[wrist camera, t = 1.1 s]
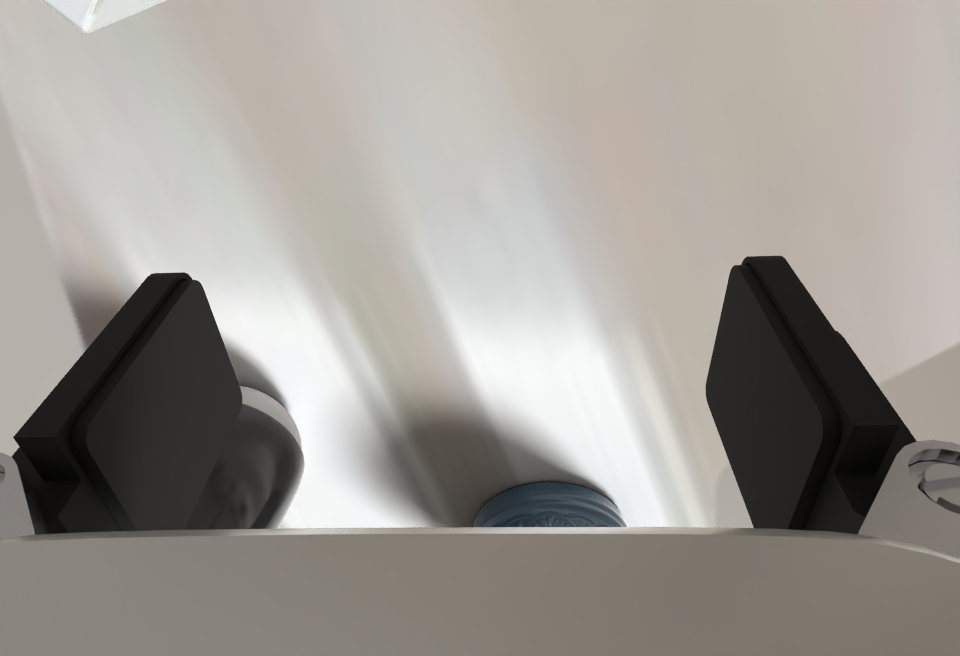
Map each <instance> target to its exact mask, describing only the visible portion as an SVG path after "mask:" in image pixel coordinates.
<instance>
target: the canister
mask: <svg viewBox="0 0 960 656" xmlns="http://www.w3.org/2000/svg"><path fill="white" fill-rule="evenodd" d="M473 527H627V526H626V524H625V522H624V521H623V518H622V515H621V513H620V511H619V510H618V508H617V507H616V506H615V505H614V504H613V503H612V502H611V501H610V500H609V499H607V498H606V497H604V496H603V495H601V494H599V493H597V492H595V491H593V490H591V489H588V488H585V487H582V486H578V485H573V484H567V483H556V482H545V483H534V484H528V485H523V486H519V487H516V488H513V489H510V490H508V491H505V492H503V493H501V494H499V495H497V496H496V497H494V498H493V499H491V500H490V501H489V502H487V503H486V504H485V505H484V506H483V507H482V508H481V510H480V511H479V512H478V514H477V516H476V518H475V521H474V525H473Z"/></svg>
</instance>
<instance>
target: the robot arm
mask: <svg viewBox="0 0 960 656" xmlns="http://www.w3.org/2000/svg"><path fill="white" fill-rule="evenodd" d="M706 398H707V402H708V405H709V408H710V411H711V413H712V416H713V419H714V422H715V424H716V427H717V430H718V432H719V435H720V438H721V440H722V443H723V446H724V448H725V451H726V454H727V457H728V459H729V462H730V465H731V467H732V470H733V473H734V475H735V478H736V481H737V483H738V486H739V489H740V492H741V494H742V497H743V500H744V502H745V505H746V508H747V510H748V513H749V516H750V518H751V521H752V524H753V526H754V528H695V527H452V528H306V529H219V530H184V529H185V527H186V525H187V523H188V521H189V519H190V517H191V514H192V512H193V510H194V508H195V506H196V504H197V502H198V500H199V497H200V495H201V493H202V491H203V489H204V487H205V485H206V483H207V481H208V478H209V476H210V474H211V472H212V470H213V468H214V466H215V464H216V461H217V459H218V457H219V455H220V453H221V451H222V449H223V447H224V444H225V442H226V440H227V438H228V436H229V434H230V432H231V430H232V427H233V425H234V423H235V421H236V419H237V417H238V415H239V413H240V410H241V407H242V393H241V389H240V386H239V384H238V381H237V378H236V375H235V373H234V370H233V367H232V365H231V362H230V359H229V357H228V354H227V351H226V348H225V346H224V343H223V340H222V338H221V335H220V332H219V330H218V327H217V324H216V321H215V319H214V316H213V313H212V311H211V308H210V305H209V303H208V300H207V297H206V294H205V292H204V289H203V287H202V285H201V283H200V282H199V281H197V280H192V278H191V277H190V276H189V275H188V274H186V273H155V274H151V275H150V276H148V277H147V278H146V280H145V281H144V282H143V283H142V284H141V286H140V287H139V288H138V289H137V290H136V292H135V293H134V294H133V295H132V296H131V297H130V299H129V300H128V301H127V302H126V303H125V305H124V306H123V307H122V308H121V309H120V311H119V312H118V313H117V314H116V315H115V317H114V318H113V319H112V320H111V321H110V323H109V324H108V325H107V326H106V327H105V329H104V330H103V331H102V332H101V333H100V334H99V336H98V337H97V338H96V339H95V340H94V342H93V343H92V344H91V345H90V346H89V348H88V349H87V350H86V351H85V352H84V354H83V355H82V356H81V357H80V358H79V360H78V361H77V362H76V363H75V364H74V366H73V367H72V368H71V369H70V370H69V372H68V373H67V374H66V375H65V377H63V379H62V380H61V381H60V382H59V383H58V385H57V386H56V387H55V388H54V389H53V391H52V392H51V393H50V394H49V395H48V397H47V398H46V399H45V400H44V401H43V403H42V404H41V405H40V406H39V407H38V408H37V410H36V411H35V412H34V413H33V414H32V416H31V417H30V418H29V419H28V420H27V422H26V423H25V424H24V425H23V427H22V428H21V429H20V430H19V431H18V433H17V434H16V435H15V436H14V437H13V438H14V439H15V441H16V442H17V443H18V445H19V446H20V447H19V448H18V450H17V451H16V452H15V453H14V455H13V456H12V457H10V456H8V455H6V454H3V453H0V656H960V445H958V444H955V443H950V442H944V441H937V440H929V441H928V440H927V441H916V440H915V439H914V437H913V436H912V434H911V433H910V431H909V430H908V428H907V427H906V425H905V424H904V423H903V421H902V420H901V418H900V417H899V416H898V414H897V413H896V411H895V410H894V408H893V407H892V406H891V404H890V403H889V401H888V400H887V398H886V397H885V396H884V394H883V393H882V391H881V390H880V388H879V387H878V386H877V384H876V383H875V381H874V380H873V379H872V377H871V376H870V374H869V373H868V371H867V370H866V369H865V367H864V366H863V364H862V363H861V361H860V360H859V359H858V357H857V356H856V354H855V353H854V351H853V350H852V349H851V347H850V346H849V344H848V343H847V341H846V340H845V339H844V337H843V336H842V335H841V334H840V333H839V332H837V331H835V330H834V329H833V327H832V326H831V324H830V323H829V321H828V320H827V319H826V317H825V316H824V314H823V313H822V311H821V310H820V308H819V307H818V306H817V304H816V303H815V301H814V300H813V298H812V297H811V295H810V294H809V293H808V291H807V290H806V288H805V287H804V285H803V284H802V283H801V281H800V280H799V278H798V277H797V275H796V274H795V272H794V271H793V270H792V268H791V267H790V265H789V264H788V262H787V261H786V259H785V258H784V257H782V256H755V257H746V258H745V259H744V260H743V262H742V264H741V265H735V266H733V267H732V269H731V272H730V275H729V280H728V285H727V289H726V294H725V298H724V303H723V308H722V312H721V317H720V322H719V326H718V331H717V335H716V340H715V345H714V349H713V354H712V359H711V363H710V368H709V372H708V377H707V382H706Z"/></svg>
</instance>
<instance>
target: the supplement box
mask: <svg viewBox="0 0 960 656" xmlns="http://www.w3.org/2000/svg"><path fill="white" fill-rule="evenodd" d="M40 1H42V2H43V3H44V4H46V5H47V6H48V7H50V8H51V9H52V10H54V11H55V12H56V13H58V14H59V15H60V16H62V17H63V18H64V19H66V20H67V21H68V22H69V23H71V24H72V25H73V26H74V27H75V28H77V29H78V30H80V31H81V32H83V33H90V32H93V31H96V30H98V29H100V28H102V27H104V26H107V25H109V24H111V23H114V22H116V21H119V20H121V19H123V18H126V17H128V16H131V15H133V14H135V13H138V12H140V11H142V10H145V9H147V8H149V7H152V6H154V5H157V4H159V3H162V2H164V1H166V0H40Z"/></svg>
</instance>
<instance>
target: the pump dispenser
mask: <svg viewBox="0 0 960 656" xmlns="http://www.w3.org/2000/svg"><path fill="white" fill-rule="evenodd" d="M240 389H241V393H242V407H241V410H240V413H239V415H238V417H237V419H236V421H235V423H234V425H233V427H232V430H231V432H230V434H229V436H228V438H227V440H226V442H225V444H224V447H223V449H222V451H221V453H220V455H219V457H218V459H217V461H216V464H215V466H214V468H213V470H212V472H211V474H210V476H209V478H208V481H207V483H206V485H205V487H204V489H203V491H202V493H201V495H200V497H199V500H198V502H197V504H196V506H195V508H194V510H193V512H192V514H191V517H190V519H189V521H188V523H187V525H186V527H185V529H184V530H219V529H278V527H279V526H280V524H281V522H282V520H283V518H284V516H285V515H286V513H287V511H288V509H289V507H290V505H291V503H292V501H293V499H294V497H295V494H296V492H297V490H298V487H299V485H300V482H301V479H302V475H303V472H304V456H303V452H302V449H301V440H300V435H299V432H298V429H297V426H296V424H295V422H294V420H293V419H292V417H291V416H290V414H289V413H288V412H287V410H286V409H285V408H284V407H283V406H282V405H281V404H279V403H278V402H277V401H276V400H274V399H273V398H271V397H270V396H268V395H266V394H264V393H262V392H260V391H258V390H255V389H252V388H248V387H244V386H240Z"/></svg>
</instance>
